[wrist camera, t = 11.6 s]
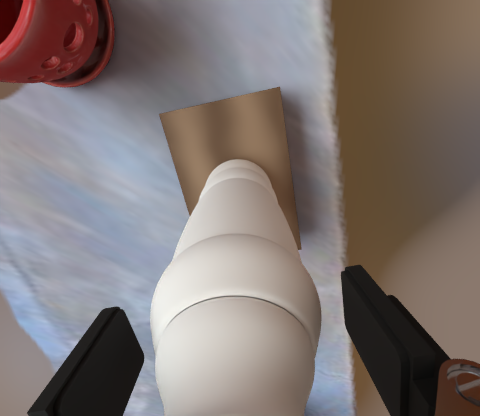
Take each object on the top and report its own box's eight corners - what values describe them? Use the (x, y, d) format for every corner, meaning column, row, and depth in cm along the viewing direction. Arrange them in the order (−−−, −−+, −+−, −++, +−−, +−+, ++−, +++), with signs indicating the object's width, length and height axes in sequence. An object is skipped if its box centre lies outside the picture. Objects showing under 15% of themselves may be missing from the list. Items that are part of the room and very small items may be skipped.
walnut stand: (274, 90, 27) (279, 86, 23) (294, 234, 33) (301, 249, 29) (169, 114, 28) (158, 114, 24) (208, 249, 34) (204, 266, 30)
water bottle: (270, 218, 28) (421, 747, 5) (209, 220, 28) (58, 750, 5) (270, 156, 25) (614, 654, 2) (203, 159, 25) (-184, 662, 2)
